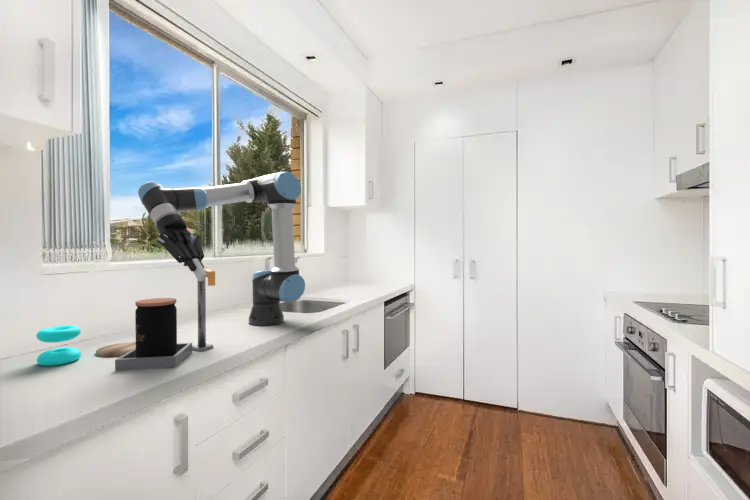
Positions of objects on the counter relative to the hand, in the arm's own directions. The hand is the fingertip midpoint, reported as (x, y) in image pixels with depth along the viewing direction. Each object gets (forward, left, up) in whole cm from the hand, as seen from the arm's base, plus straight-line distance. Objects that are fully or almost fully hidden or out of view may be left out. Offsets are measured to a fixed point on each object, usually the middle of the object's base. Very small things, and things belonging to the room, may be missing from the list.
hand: (203, 278), depth 108 cm
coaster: (+30, -20, -25) cm, 44 cm away
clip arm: (+2, -9, -2) cm, 10 cm away
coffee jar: (+15, -6, -25) cm, 30 cm away
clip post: (+5, -18, -25) cm, 31 cm away
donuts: (+43, -10, -25) cm, 51 cm away
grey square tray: (+15, -6, -25) cm, 30 cm away
